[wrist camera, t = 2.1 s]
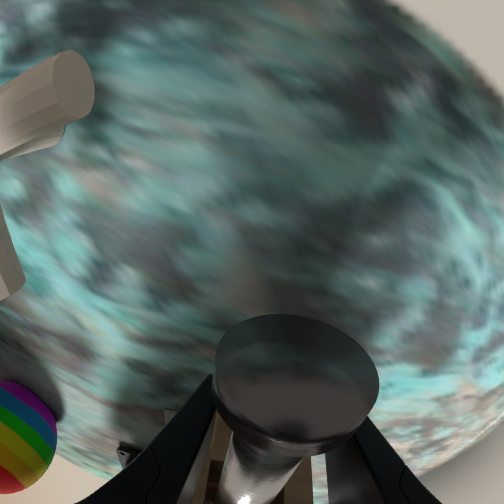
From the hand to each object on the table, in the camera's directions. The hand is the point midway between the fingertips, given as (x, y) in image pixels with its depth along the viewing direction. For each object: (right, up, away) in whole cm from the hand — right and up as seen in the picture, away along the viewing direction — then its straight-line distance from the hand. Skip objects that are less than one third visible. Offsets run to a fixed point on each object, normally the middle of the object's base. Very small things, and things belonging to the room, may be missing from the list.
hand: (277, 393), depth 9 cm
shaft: (-1, -5, +3) cm, 6 cm away
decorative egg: (-20, -9, +11) cm, 24 cm away
